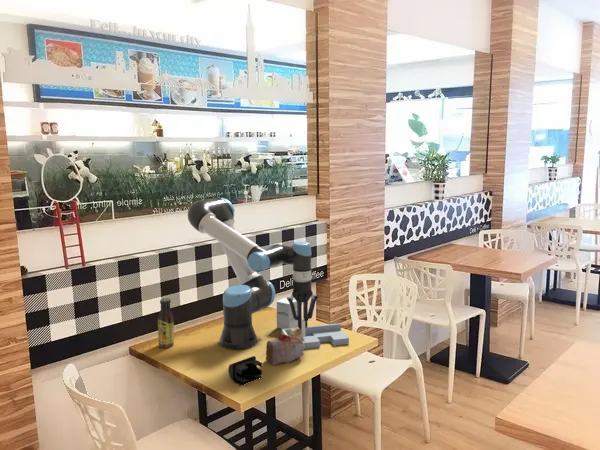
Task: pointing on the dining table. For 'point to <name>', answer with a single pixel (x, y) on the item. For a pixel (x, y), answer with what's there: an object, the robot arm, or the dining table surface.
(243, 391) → the dining table surface
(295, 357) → the food item
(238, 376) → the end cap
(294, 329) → the oak block
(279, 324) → the supplement box
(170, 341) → the sauce bottle
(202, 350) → the dining table surface
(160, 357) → the dining table surface
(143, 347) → the dining table surface
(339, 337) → the tray
